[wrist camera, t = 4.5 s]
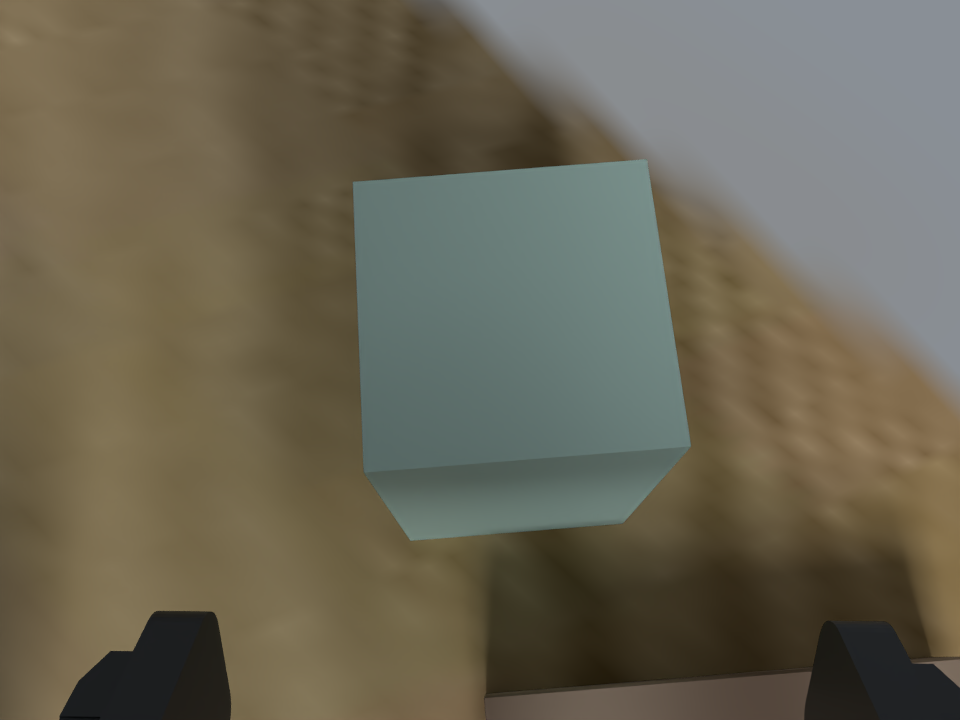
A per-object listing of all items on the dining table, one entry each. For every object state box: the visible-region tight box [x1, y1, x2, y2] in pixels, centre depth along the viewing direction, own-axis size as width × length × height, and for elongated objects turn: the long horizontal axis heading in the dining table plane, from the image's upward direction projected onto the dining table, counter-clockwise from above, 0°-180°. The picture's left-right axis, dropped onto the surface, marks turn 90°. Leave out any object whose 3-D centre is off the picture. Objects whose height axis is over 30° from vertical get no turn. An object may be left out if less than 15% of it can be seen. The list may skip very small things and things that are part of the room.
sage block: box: [353, 159, 691, 541], centre depth 19 cm, size 5×5×8 cm
